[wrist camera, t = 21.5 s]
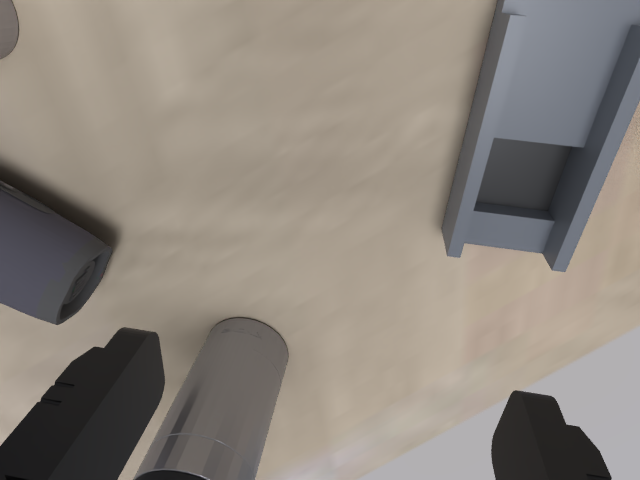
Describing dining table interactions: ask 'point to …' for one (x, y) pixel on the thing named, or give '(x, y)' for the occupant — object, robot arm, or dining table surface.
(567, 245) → the channel
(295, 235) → the dining table surface
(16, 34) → the candle
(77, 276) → the bluetooth speaker
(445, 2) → the dining table surface
